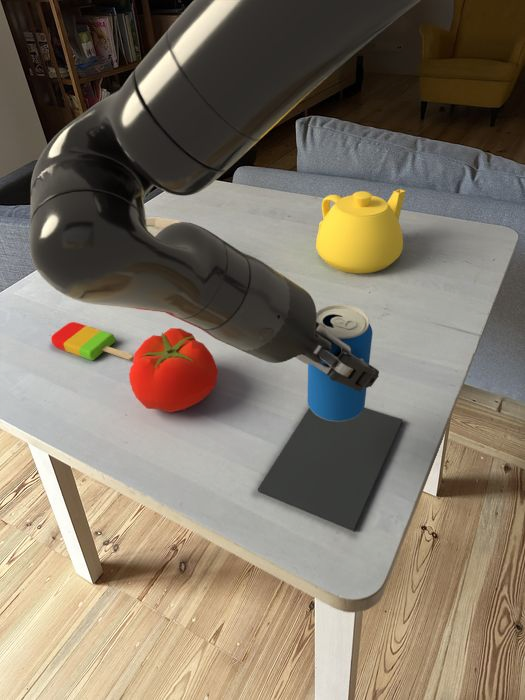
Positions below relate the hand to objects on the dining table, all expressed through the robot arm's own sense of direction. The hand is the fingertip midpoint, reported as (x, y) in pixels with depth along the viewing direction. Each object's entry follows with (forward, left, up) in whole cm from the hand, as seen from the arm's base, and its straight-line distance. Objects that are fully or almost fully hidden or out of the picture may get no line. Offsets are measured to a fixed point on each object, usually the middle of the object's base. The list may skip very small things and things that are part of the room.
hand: (349, 360), depth 58 cm
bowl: (+12, -52, -15) cm, 55 cm away
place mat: (+2, 0, -15) cm, 15 cm away
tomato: (+16, -20, -15) cm, 29 cm away
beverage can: (+2, 0, -6) cm, 6 cm away
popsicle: (+24, -36, -15) cm, 46 cm away
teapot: (-29, -43, -15) cm, 54 cm away
